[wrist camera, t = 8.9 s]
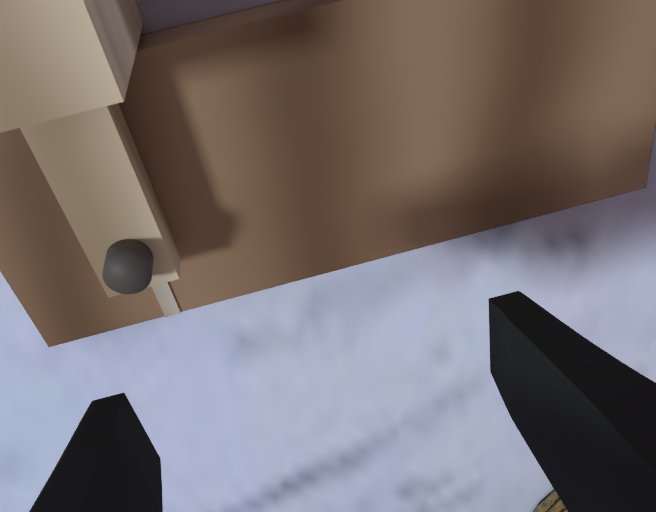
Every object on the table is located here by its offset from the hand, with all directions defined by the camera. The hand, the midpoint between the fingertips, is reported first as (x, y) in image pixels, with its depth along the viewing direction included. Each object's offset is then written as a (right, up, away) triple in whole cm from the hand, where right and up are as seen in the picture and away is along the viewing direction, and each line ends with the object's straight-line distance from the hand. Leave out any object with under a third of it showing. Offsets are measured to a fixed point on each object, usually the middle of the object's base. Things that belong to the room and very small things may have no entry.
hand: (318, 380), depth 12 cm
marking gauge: (-6, +7, +5) cm, 10 cm away
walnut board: (0, +6, +7) cm, 9 cm away
